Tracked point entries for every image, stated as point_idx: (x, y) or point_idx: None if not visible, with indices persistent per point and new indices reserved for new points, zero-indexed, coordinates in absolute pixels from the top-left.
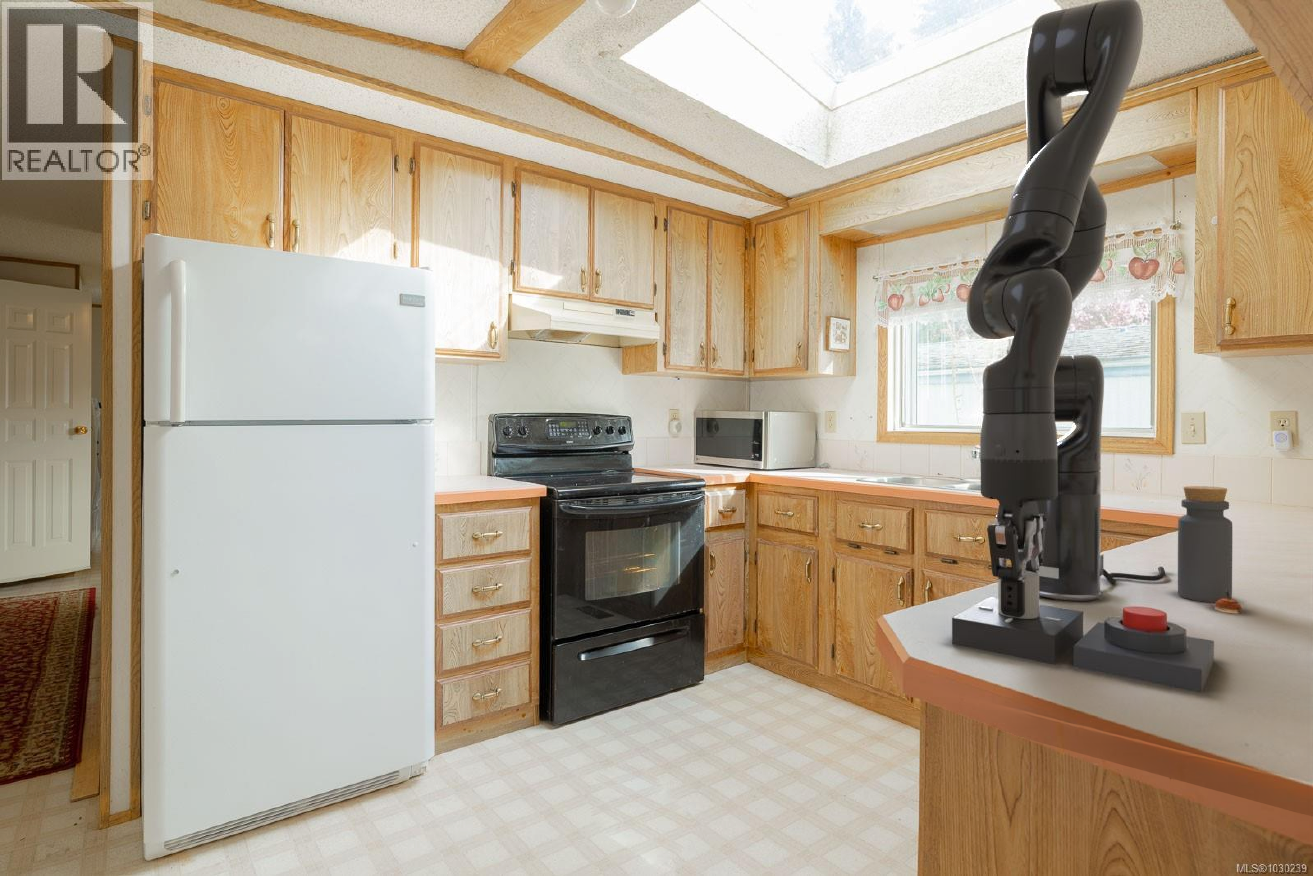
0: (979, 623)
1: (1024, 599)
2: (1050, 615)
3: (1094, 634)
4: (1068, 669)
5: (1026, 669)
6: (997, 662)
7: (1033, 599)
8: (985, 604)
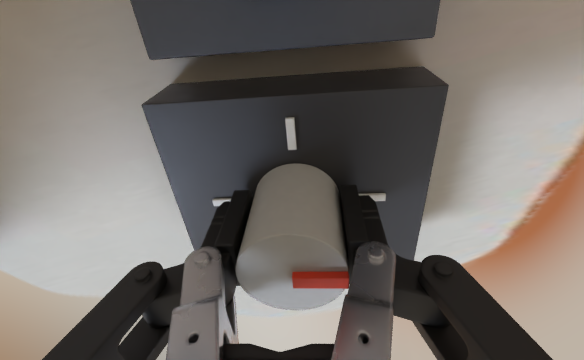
0: (419, 227)
1: (345, 207)
2: (251, 149)
3: (281, 28)
4: None
5: (477, 101)
6: (458, 152)
7: (316, 194)
8: None
